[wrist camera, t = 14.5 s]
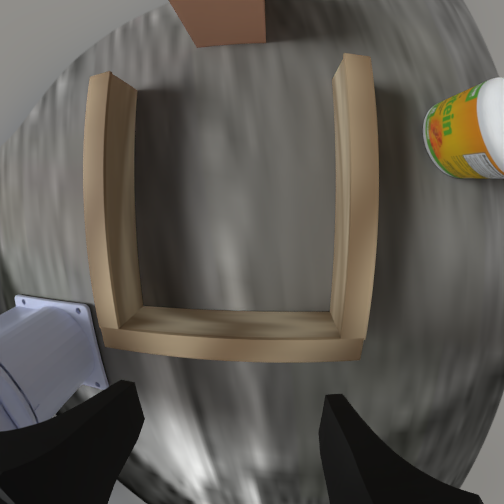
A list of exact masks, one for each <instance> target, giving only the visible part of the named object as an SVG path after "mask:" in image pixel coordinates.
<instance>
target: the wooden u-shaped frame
mask: <svg viewBox="0 0 504 504" xmlns="http://www.w3.org/2000/svg"><path fill="white" fill-rule="evenodd" d="M332 86H333V101H334V120H335V150H336V211H335V242H334V262H333V278H332V291H331V303H330V312H261V311H224V310H201V309H182V308H166V307H152V306H143V299H142V291H141V282H140V272H139V262H138V250H137V237H136V219H135V192H134V145H135V119H136V102H137V90H136V89H135V88H133V87H132V86H130V85H129V84H127V83H125V82H124V81H122V80H121V79H119V78H118V77H116V76H115V75H113V74H112V72H110V71H108V72H105V73H101V74H98V75H94V76H91V77H90V80H89V88H88V96H87V105H86V116H85V130H84V153H83V194H84V217H85V231H86V243H87V253H88V261H89V269H90V277H91V284H92V290H93V296H94V302H95V308H96V313H97V318H98V323H99V328H101V331H102V336H103V340H104V345H105V347H109V348H115V349H121V350H127V351H134V352H141V353H149V354H156V355H165V356H174V357H184V358H195V359H207V360H222V361H242V362H333V361H353V360H360V358H361V352H362V347H363V341H364V340H365V339H366V333H367V327H368V320H369V313H370V306H371V298H372V290H373V281H374V271H375V259H376V247H377V230H378V206H379V152H378V128H377V113H376V101H375V90H374V81H373V72H372V64H371V57H368V56H362V55H355V54H347V53H344V55H343V60H342V62H341V64H340V66H339V68H338V70H337V71H336V73H335V75H334V77H333V79H332Z"/></svg>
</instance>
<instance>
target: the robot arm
mask: <svg viewBox="0 0 504 504" xmlns="http://www.w3.org/2000/svg"><path fill="white" fill-rule="evenodd" d="M15 303H16V307H14V308H12V309H10V310H9V311H7V312H5V313H3V314H1V315H0V504H108V501H109V498H110V495H111V492H112V489H113V487H114V484H115V482H116V480H117V478H118V476H119V474H120V472H121V470H122V468H123V466H124V464H125V462H126V461H127V459H128V457H129V455H130V453H131V451H132V449H133V447H134V445H135V444H136V442H137V440H138V437H139V434H140V432H141V429H142V426H143V423H144V420H145V418H144V415H143V411H142V408H141V404H140V401H139V397H138V394H137V390H136V386H135V382H130V381H125V380H120V381H118V382H116V383H115V384H113V385H111V386H110V387H109V384H108V381H107V378H106V374H105V371H104V367H103V363H102V360H101V356H100V352H99V348H98V344H97V340H96V335H95V331H94V326H93V322H92V317H91V312H90V308H89V307H88V306H87V305H86V304H81V303H73V302H65V301H58V300H51V299H44V298H38V297H31V296H25V295H16V296H15ZM78 308H79V309H80V311H81V312H80V311H79V309H78ZM82 384H83V385H87V386H91V387H95V388H98V389H102V390H103V391H102V392H100V393H98V394H97V395H95V396H93V397H92V398H90V399H88V400H87V401H85V402H83V403H81V404H80V405H78V406H76V407H74V408H72V409H70V410H68V411H66V412H64V413H62V414H60V415H58V416H56V417H54V418H52V417H53V416H54V415H55V413H56V412H57V411H58V410H59V409H60V408H61V407H62V406H63V405H64V403H65V402H66V401H67V400H68V399H69V398H70V397H71V396H72V395H73V393H74V392H75V391H76V390H77V389H78V388H79V387H80V386H81V385H82ZM319 443H320V455H321V460H322V465H323V470H324V475H325V480H326V485H327V490H328V495H329V500H330V504H483V502H482V500H481V498H480V497H479V495H477V494H474V493H470V492H467V491H464V490H461V489H458V488H455V487H452V486H450V485H448V484H445V483H443V482H441V481H439V480H437V479H435V478H433V477H431V476H429V475H427V474H426V473H424V472H422V471H421V470H419V469H417V468H416V467H414V466H412V465H411V464H410V463H408V462H407V461H405V460H404V459H403V458H402V457H400V456H399V455H398V454H396V453H395V452H394V451H393V450H392V449H391V448H390V447H388V446H387V445H386V444H385V443H384V442H383V441H382V440H381V439H380V438H379V437H378V436H377V435H376V434H375V433H374V432H373V431H372V429H371V428H370V427H369V426H368V425H367V424H366V423H365V422H364V421H363V419H362V418H361V417H360V416H359V415H358V413H357V412H356V411H355V410H354V408H353V407H352V406H351V404H350V403H349V402H348V400H347V399H346V398H345V396H344V395H343V394H331V395H325V401H324V407H323V412H322V418H321V423H320V428H319Z"/></svg>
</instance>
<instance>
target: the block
mask: <svg viewBox="0 0 504 504" xmlns="http://www.w3.org/2000/svg"><path fill="white" fill-rule="evenodd" d="M169 2H170V4H171V5H172V7H173V8H174V10H175V12H176V13H177V15H178V17H179V18H180V20H181V21H182V23H183V25H184V26H185V28H186V30H187V31H188V33H189V35H190V37H191V38H192V40H193V42H194V43H195V45H196V47H197V48H199V47H207V46H217V45H229V44H247V43H266V24H265V0H169Z"/></svg>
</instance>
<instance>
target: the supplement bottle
mask: <svg viewBox="0 0 504 504" xmlns="http://www.w3.org/2000/svg"><path fill="white" fill-rule="evenodd" d="M423 138H424V143H425V147H426V149H427V152H428V154H429V156H430V158H431V160H432V161H433V162H434V164H435V165H436V166H437V167H438V168H439V169H440V170H441V171H442V172H444V173H445V174H447V175H449V176H451V177H455V178H472V179H473V178H492V179H504V78H501V77H499V78H494V79H491V80H488V81H486V82H483V83H481V84H479V85H477V86H475V87H472V88H470V89H468V90H466V91H464V92H462V93H459V94H457V95H455V96H452V97H450V98H448V99H446V100H444V101H442V102H439V103H438V104H436V105H434V106H433V107H432V108H431V109H430V110H429V111H428V113H427V114H426V116H425V119H424V124H423Z"/></svg>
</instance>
